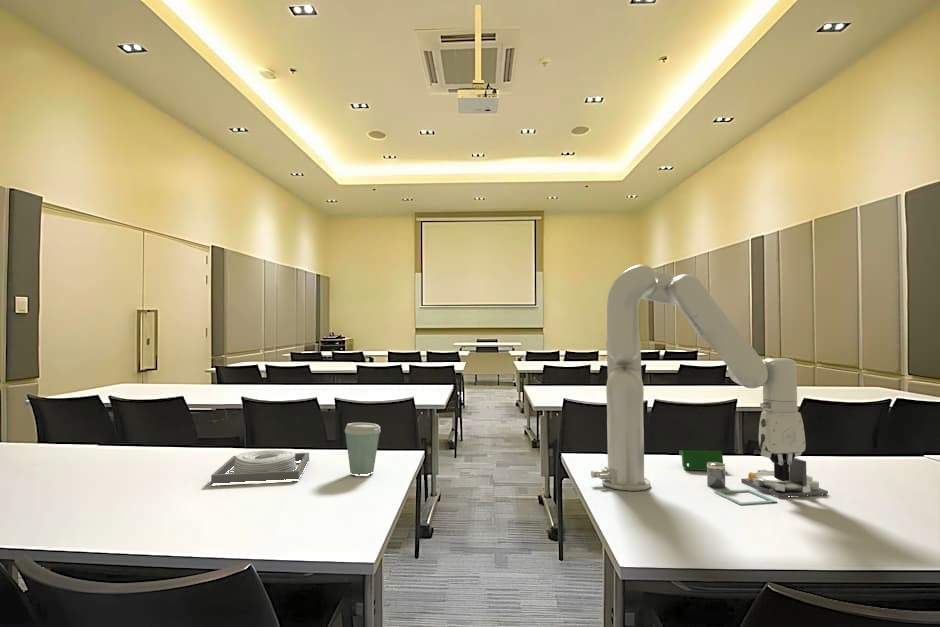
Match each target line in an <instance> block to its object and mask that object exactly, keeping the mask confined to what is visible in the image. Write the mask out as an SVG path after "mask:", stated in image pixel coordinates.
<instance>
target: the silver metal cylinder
mask: <svg viewBox="0 0 940 627" xmlns="http://www.w3.org/2000/svg"><path fill="white" fill-rule="evenodd" d="M706 475H707V476H706V478H707V479H706V480H707V481H706V482H707V487H708V488H710V487H711V489H715V490H716V489H717V490H722V489H726V463H724V462H723V463H719V462H708V463H707V470H706Z"/></svg>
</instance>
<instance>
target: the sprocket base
mask: <svg viewBox="0 0 940 627" xmlns="http://www.w3.org/2000/svg"><path fill="white" fill-rule="evenodd" d="M741 483H742V484H744V485H746V486H749V487H751V486H752V488H754V489H756V488H757V489H756V490H758V489H759V491H761V490H762V491H761V492H763V491H764V492H763V493H765V492H767V493H766V494H768V493H770V494H772V495H771V496H773V495H775V496H777V497H788V496H790V498H792V497H791V496H805V497H810V496H809V495H820V496H823V495H822V494H828V495H829V491H828V490H826V489H823V488H821V487H819V489H814V488H811V492H800V491H788V490H785V491H779V490H775V489H774V488H770V487H766V486H758V485H755V484H753V480H750V479H748V477H747V478H741ZM770 494H769V495H770ZM807 495H808V496H807ZM775 496H774V497H775ZM777 497H776V498H777Z"/></svg>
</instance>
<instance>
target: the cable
mask: <svg viewBox="0 0 940 627" xmlns="http://www.w3.org/2000/svg"><path fill="white" fill-rule="evenodd" d="M295 453H296V452H292V451H288V450H281V449H279V450H278V449H277V450H276V449H268V450H267V449H265V450H255V451H245V452H241V453H239V454H237V455H235V456H236V458H235V464H234V468H233V469H232V470H230V471H234V473H253V472H273V471H293V470H295V469H296V467H297V463H296V462H295ZM227 473H228V472H227ZM231 473H233V472H229V474H231Z"/></svg>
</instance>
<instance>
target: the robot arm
mask: <svg viewBox="0 0 940 627" xmlns="http://www.w3.org/2000/svg"><path fill="white" fill-rule="evenodd" d="M642 300H647V301H651V302H656V303H660V304H665V305H671V306H674V307H675V306H676V307H677V308H678V310H679V312H681V314H682V315H683V316H684V317H685V319H686V320H687V322H688V323H689V325H690V326H691V327H692V328H693V330H694V332H695V333H696V334H697V335H698V337H699V338H700V339H701V340H702V341H703V342H704V343H705V344H707V345H708V346H709V347H711V348H712V349H713V351H714V352H715V353H716V354H717V355H718V356H719V357H720V358H721V360H722V361H723V362H724V364H725V365H726V366H727V374H728V376H729V378H730V379H731V380H732V381H733V382H734V383H736V384H737V385H740V386H742V387H744V388H747V389H757V388H760V387H762V402H761V403H760V404H759V406H760V409H763V410H762V411H761V413H760V417H759V418H760V419H759V425H758V447H759V449H760V451H761V452H760V456H761V457H764V458H767V459H769V460H770V461H771V462H772V463H773V471H774V477H775V478H776V479H778V480H781V481H789V465H791V463H792V460H793V459H794V458H796V457H800V456H801V455H802V453H803V452H805V451H806V434H805V427H804V422H803V417H802V414H801V412H799V411H798V386H797V385H798V382H797V379H798V378H797V376H798V374H797V363H796V361H795V360H794V359H792V358H786V357H767V358H761V356H760V355H759V354H758V353H757V352H756V350H755V348H754V347H753V346H752V345H751V343H750V342H749V341H748V339H746V337H745V336H744V334H742V332H740V331H739V330H738V328H737V326H736V325H735V324H734V323H733V321H731V320H730V318H729V317H728V316H727V315H726V314H725V312H724V311H723V309H722V308H721V307H720V306H719V304H718V303H717V302H716V300H715V299H714V298H713V296H712V295H711V293H710V292H709V291H708V290H707V288H706V287H705V286H704V284H703V282H702V281H701V280H700V279H699V278H698V277H697V276H695V275H693V274H690V273H684V274H683V273H682V274H679V275H674V274H669V273H663V272H658V271H656V270H655V269H654V268H653V267H651V266H649V265H647V264H638V265H637V264H636V265H634V266H631V267H629V268H628V269H626V270H624V271H623V272H622V273H620V274H619V275H618V276H617V277H616V279H615V280H614V281H613V283H612V285H611V286H610V288H609V292H608V296H607V300H606V301H607V303H606V333H607V334H606V340H605V341H606V344H605V348H606V364H607V366H606V367H607V380H606V387H605V388H606V390H605V391H606V413H607V414H606V420H607V421H606V426H607V427H606V430H607V431H606V432H607V465H604V468H602V469H601V470H591V471H590V476H591V478H592V479H596V478H599V480H602V484H603V485H604V486H606V487H607V488H611V489H613V490H619V491H626V490H627V491H628V492H629V491H630V492H631V491H633V492H634V491H636V492H637V491H644V490H645V491H646V490H647V489H649V488H650V487H651V481H650V480H649V478H646V477H645V441H644V439H645V437H644V436H645V435H644V434H645V432H644V395H645V394H644V393H645V392H644V389H645V388H644V382H643V378H642V351H641V350H642V342H641V337H640V336H641V335H640V305H641V304H640V303H641V301H642Z"/></svg>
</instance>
